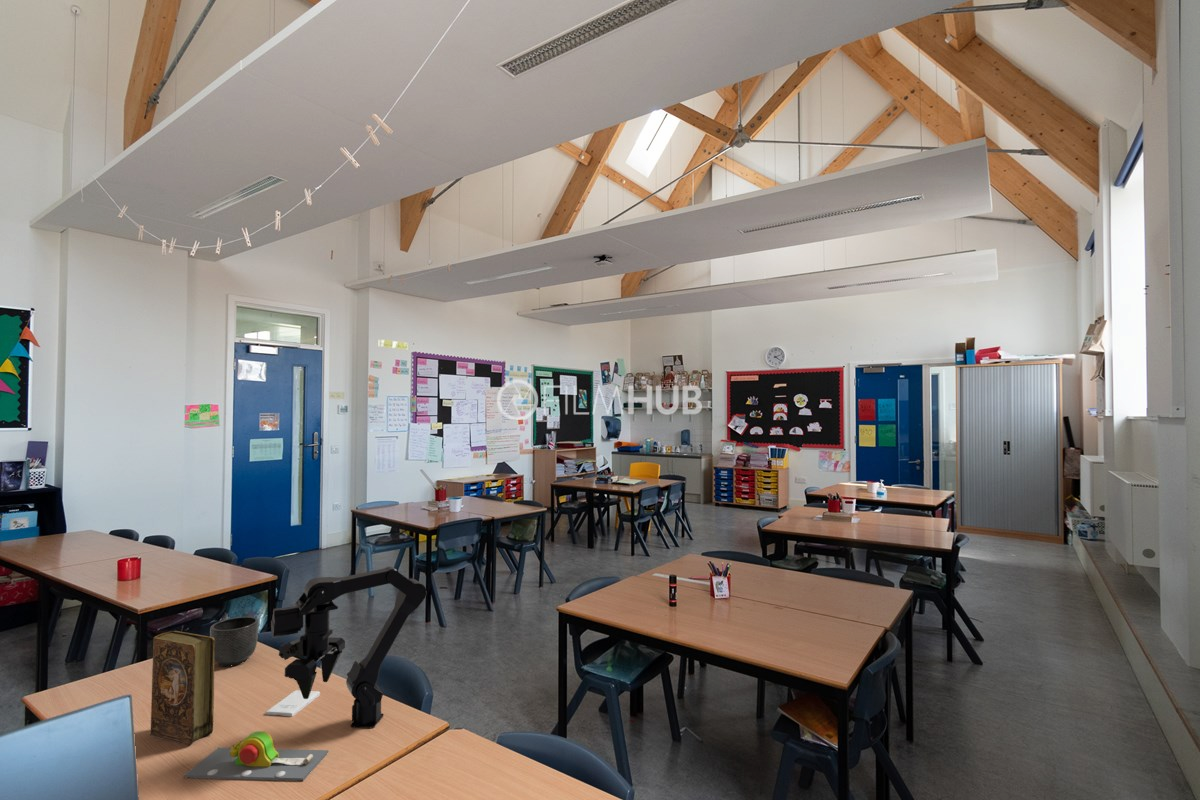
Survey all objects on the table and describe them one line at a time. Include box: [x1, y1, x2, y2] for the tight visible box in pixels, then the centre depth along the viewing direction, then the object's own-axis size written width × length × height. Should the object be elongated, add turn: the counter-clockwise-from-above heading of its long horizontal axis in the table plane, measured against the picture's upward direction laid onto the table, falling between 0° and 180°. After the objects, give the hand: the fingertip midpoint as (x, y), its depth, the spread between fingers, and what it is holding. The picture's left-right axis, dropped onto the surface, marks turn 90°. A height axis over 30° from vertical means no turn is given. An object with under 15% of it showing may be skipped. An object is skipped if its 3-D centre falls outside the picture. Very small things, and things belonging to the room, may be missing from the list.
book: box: [150, 630, 215, 746], centre depth 147 cm, size 16×6×25 cm, turn 71°
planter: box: [209, 616, 260, 667], centre depth 192 cm, size 14×14×13 cm
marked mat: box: [183, 747, 329, 782], centre depth 134 cm, size 28×11×1 cm, turn 87°
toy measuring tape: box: [230, 730, 313, 767], centre depth 134 cm, size 6×20×7 cm, turn 88°
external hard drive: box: [264, 689, 321, 717], centre depth 163 cm, size 2×8×12 cm
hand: (315, 689), depth 146 cm, fingers open, 9 cm apart
